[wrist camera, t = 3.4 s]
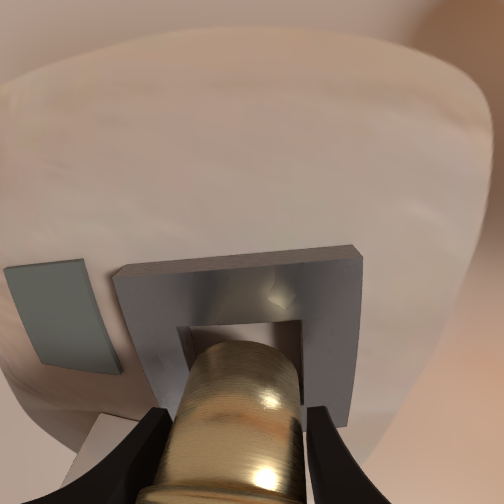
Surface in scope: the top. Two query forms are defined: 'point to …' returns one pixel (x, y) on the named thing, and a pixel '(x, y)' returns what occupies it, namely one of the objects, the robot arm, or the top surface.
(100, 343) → the mat
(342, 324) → the housing
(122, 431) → the jar
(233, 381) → the gold rounded piece
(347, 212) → the top surface
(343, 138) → the top surface
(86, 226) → the top surface
